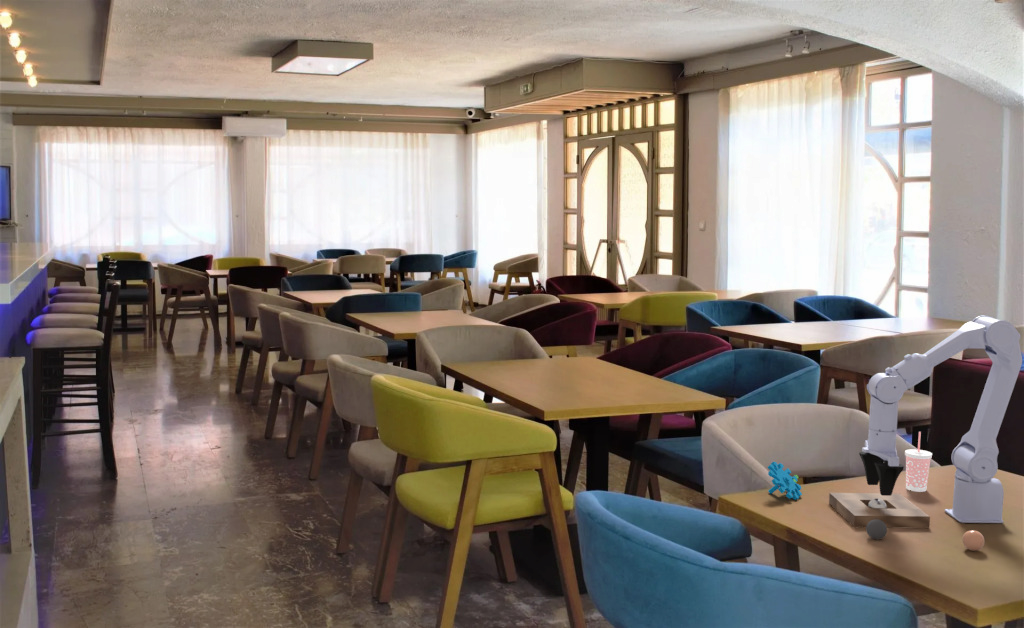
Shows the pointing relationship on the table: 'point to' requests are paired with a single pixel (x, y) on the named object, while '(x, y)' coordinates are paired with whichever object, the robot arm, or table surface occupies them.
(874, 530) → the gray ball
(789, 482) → the blue branched piece
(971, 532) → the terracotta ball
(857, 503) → the wooden square frame
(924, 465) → the beverage cup
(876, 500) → the steel ball
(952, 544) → the table surface
